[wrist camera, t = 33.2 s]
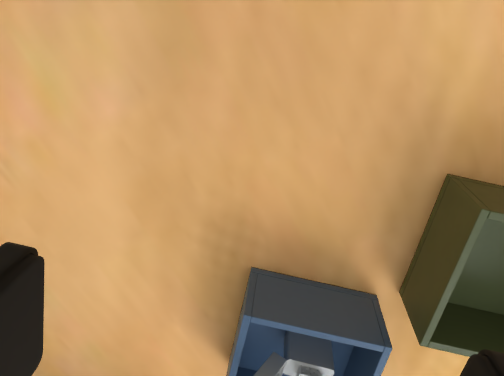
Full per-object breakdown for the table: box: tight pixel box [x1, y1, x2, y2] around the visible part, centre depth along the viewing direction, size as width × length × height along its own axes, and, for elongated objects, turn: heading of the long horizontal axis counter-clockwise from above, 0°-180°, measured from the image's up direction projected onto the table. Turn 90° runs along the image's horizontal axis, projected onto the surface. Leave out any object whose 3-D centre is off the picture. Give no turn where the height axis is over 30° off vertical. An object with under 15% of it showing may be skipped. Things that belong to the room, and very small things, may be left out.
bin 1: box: [226, 267, 392, 376], centre depth 38 cm, size 12×12×7 cm
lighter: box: [254, 331, 335, 376], centre depth 37 cm, size 7×2×8 cm, turn 77°
